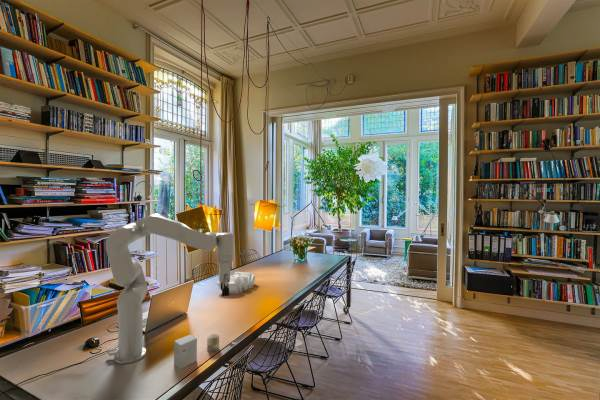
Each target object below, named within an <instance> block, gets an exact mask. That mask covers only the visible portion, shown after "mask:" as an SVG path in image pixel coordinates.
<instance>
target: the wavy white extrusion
mask: <svg viewBox="0 0 600 400" xmlns="http://www.w3.org/2000/svg"><path fill="white" fill-rule="evenodd" d="M255 280H256V274H253V273H251V272H242V271H235V272H234V274H233V275H230V282H229V295H240V294H241V293H243V291H244V292H245V291H248V290H249V289H251V288H253V287H254V286H255ZM215 283H216V285H217V287H218V288H219V289H220V290H221V283H219V280H218V281H216V282H215ZM221 292H222V290H221Z"/></svg>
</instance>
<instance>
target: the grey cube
mask: <svg viewBox="0 0 600 400" xmlns="http://www.w3.org/2000/svg"><path fill="white" fill-rule="evenodd" d="M206 338H207V340H206V341H207V342H206V344H207V345H206V351H207V352H208V353H216V352H218V351H219V350H220V335H219V334H216V333H212V334H209V335H207V337H206Z"/></svg>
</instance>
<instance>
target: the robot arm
mask: <svg viewBox="0 0 600 400" xmlns="http://www.w3.org/2000/svg"><path fill="white" fill-rule="evenodd" d="M151 234H152V235H155V236H160V237H164V238H167V239H170V240H174V241H176V242H179V243H181V244H182V245H186V246H188V247H192V248H195V249H198V250H201V251H204V252H209V251H213V250H214V249H215V248H216V247H217V248H216V251H217V252H216V262H218V281H219V283H221V289H220V290H222V291H221V296H222V297H230V294H229V282H230V276H231V262H233V261H234V234H233V233H232V232H212V231H207V232H204V233H203V232H201V231H197V230H195V229H193V228H190V227H189V226H188V225H186V224H185V223H183V222H181V221H178V220H173V219H171V218H168V217H165V216H164V215H163V214H161V213H152V214H148V215H147V216H145V217H143V218H140V219H138V220H135V221H133V222H130V223H126V224H124V225H122V226H119V227H118V228H116V229H115V230H113V231H112V232H111V233H110V234H109V235H108V237H107V238H106V241H105V251H106V255H107V258H108V261H109V266H110V269H111V270H110V271H111V275H112V278H113V282H114V283H115V284H116V285H117V286H119V287H124V288H123V290H121V292H120V293H119V295H118V297H117V299H116V306H117V315H118V316H117V317H118V318H117V320H118V323H117V324H118V325H117V326H118V327H117V328H118V330H117V331H118V336H117V337H118V343H117V346H118V347H115V348H108V349H107V350H106V351H107V352H106V353H107V354H108V356H109V357H110V356H114V357H113V361H114V363H116V364H120V365H125V364H132V363H134V362H138V361H140V360H141V359H143V358H144V357H145V356H146V355H147V349H146V348H145V347H143V337H144V336H143V333H144V332H143V331H144V329H143V326H144V325H143V323H144V322H143V319H144V318H143V317H144V315H143V300H144V299H145V297H146V296H147V295H148V294H147V293H148V284H147V281H146V278H145V273H144V271H143V267H142V265H141V263H140V262H139V261H137V260H135V259H133V257H132V254H131V252H130V249H129V245H131V244H132V243H134V242H136V241H137V240H140V239H141V238H144V237H147V236H150V235H151Z"/></svg>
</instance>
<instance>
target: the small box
mask: <svg viewBox="0 0 600 400" xmlns="http://www.w3.org/2000/svg"><path fill="white" fill-rule="evenodd" d="M197 344H198V338H197V337H195V336H194V335H193V334H188V335H185V336H183V337H180V338H178V339H175V340H174V341H173V364H174V365H175V366H176V367H177V368H178V369H180V370H181V369H184V368H185V367H187V366H190V365H191V364H193V363H195V362H197V360H198V351H197V350H198V345H197Z"/></svg>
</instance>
